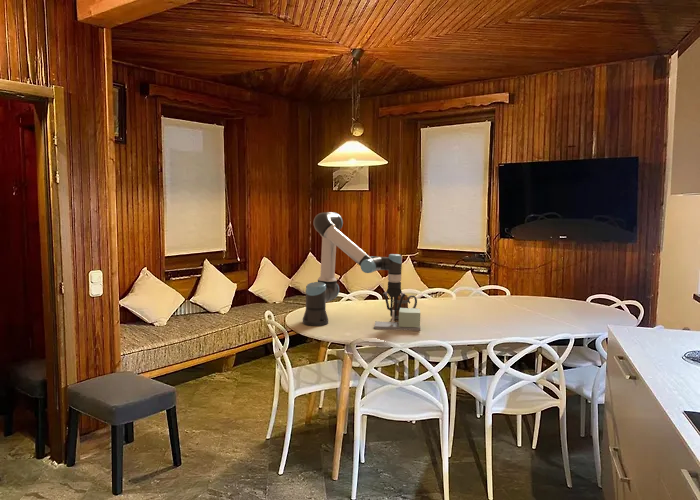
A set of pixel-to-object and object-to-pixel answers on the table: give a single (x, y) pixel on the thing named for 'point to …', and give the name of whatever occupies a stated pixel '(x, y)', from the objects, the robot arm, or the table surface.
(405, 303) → the mug
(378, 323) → the housing base
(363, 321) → the table surface
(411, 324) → the cover
